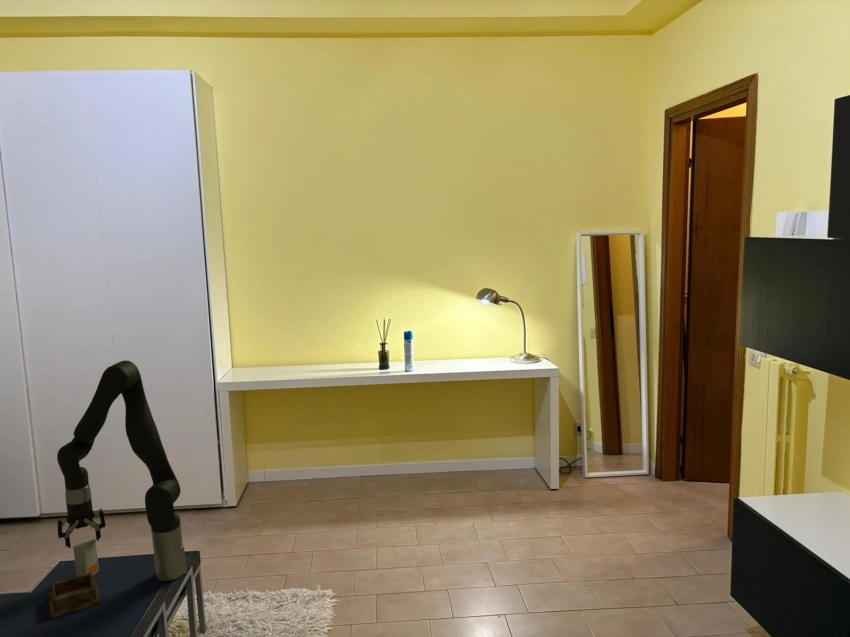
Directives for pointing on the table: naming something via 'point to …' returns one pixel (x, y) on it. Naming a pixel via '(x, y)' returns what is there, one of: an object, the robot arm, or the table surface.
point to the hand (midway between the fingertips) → (83, 543)
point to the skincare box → (86, 557)
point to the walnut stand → (73, 595)
